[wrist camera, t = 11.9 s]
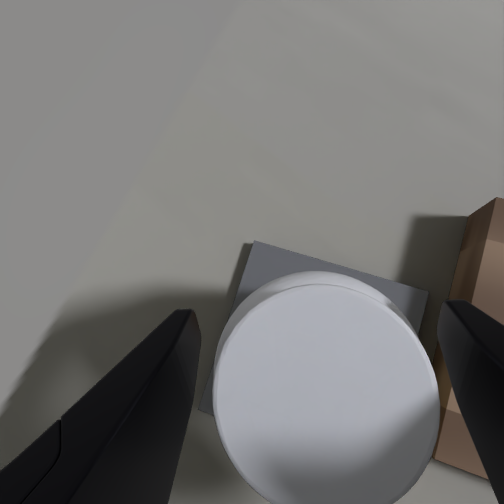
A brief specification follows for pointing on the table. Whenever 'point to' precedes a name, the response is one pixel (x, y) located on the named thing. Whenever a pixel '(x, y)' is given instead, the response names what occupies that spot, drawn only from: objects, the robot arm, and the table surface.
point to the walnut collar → (486, 299)
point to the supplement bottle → (324, 393)
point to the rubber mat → (287, 262)
